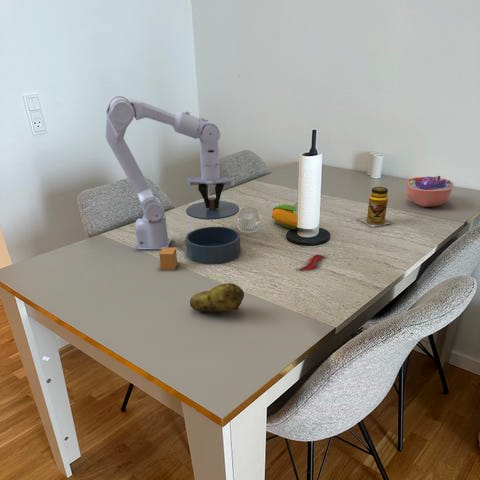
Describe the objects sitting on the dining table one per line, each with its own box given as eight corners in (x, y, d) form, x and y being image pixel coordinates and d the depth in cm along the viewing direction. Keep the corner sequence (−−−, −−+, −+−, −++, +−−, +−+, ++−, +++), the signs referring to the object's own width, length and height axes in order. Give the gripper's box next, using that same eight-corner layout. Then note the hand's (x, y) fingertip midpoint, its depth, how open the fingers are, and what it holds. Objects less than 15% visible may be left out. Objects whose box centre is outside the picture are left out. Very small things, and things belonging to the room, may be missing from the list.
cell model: (454, 200, 182) (461, 171, 176) (443, 215, 168) (449, 184, 162) (410, 194, 190) (415, 166, 184) (396, 208, 175) (400, 178, 170)
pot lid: (181, 221, 144) (180, 207, 141) (190, 203, 158) (189, 190, 156) (237, 221, 142) (237, 207, 140) (241, 203, 157) (240, 190, 155)
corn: (280, 197, 165) (325, 210, 152) (281, 218, 169) (325, 232, 156) (266, 204, 161) (311, 217, 148) (267, 224, 165) (310, 239, 153)
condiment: (373, 227, 159) (377, 192, 153) (358, 219, 166) (362, 186, 160) (390, 224, 162) (395, 189, 156) (375, 216, 168) (379, 183, 162)
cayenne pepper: (304, 272, 131) (305, 266, 130) (292, 267, 134) (293, 261, 133) (332, 260, 138) (332, 254, 137) (320, 255, 141) (320, 249, 140)
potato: (206, 298, 120) (204, 270, 115) (249, 311, 114) (248, 282, 109) (186, 313, 114) (183, 283, 110) (230, 327, 108) (229, 297, 104)
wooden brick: (161, 269, 135) (159, 253, 132) (164, 263, 139) (162, 247, 136) (174, 269, 135) (173, 253, 132) (177, 263, 139) (175, 247, 136)
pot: (183, 263, 138) (181, 246, 135) (191, 242, 152) (190, 226, 149) (238, 264, 137) (237, 246, 134) (241, 242, 151) (241, 226, 148)
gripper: (184, 167, 139) (188, 211, 147) (232, 166, 138) (233, 211, 146) (188, 161, 145) (191, 204, 153) (234, 161, 144) (235, 204, 152)
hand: (212, 207), depth 150 cm, fingers closed on pot lid, 2 cm apart
